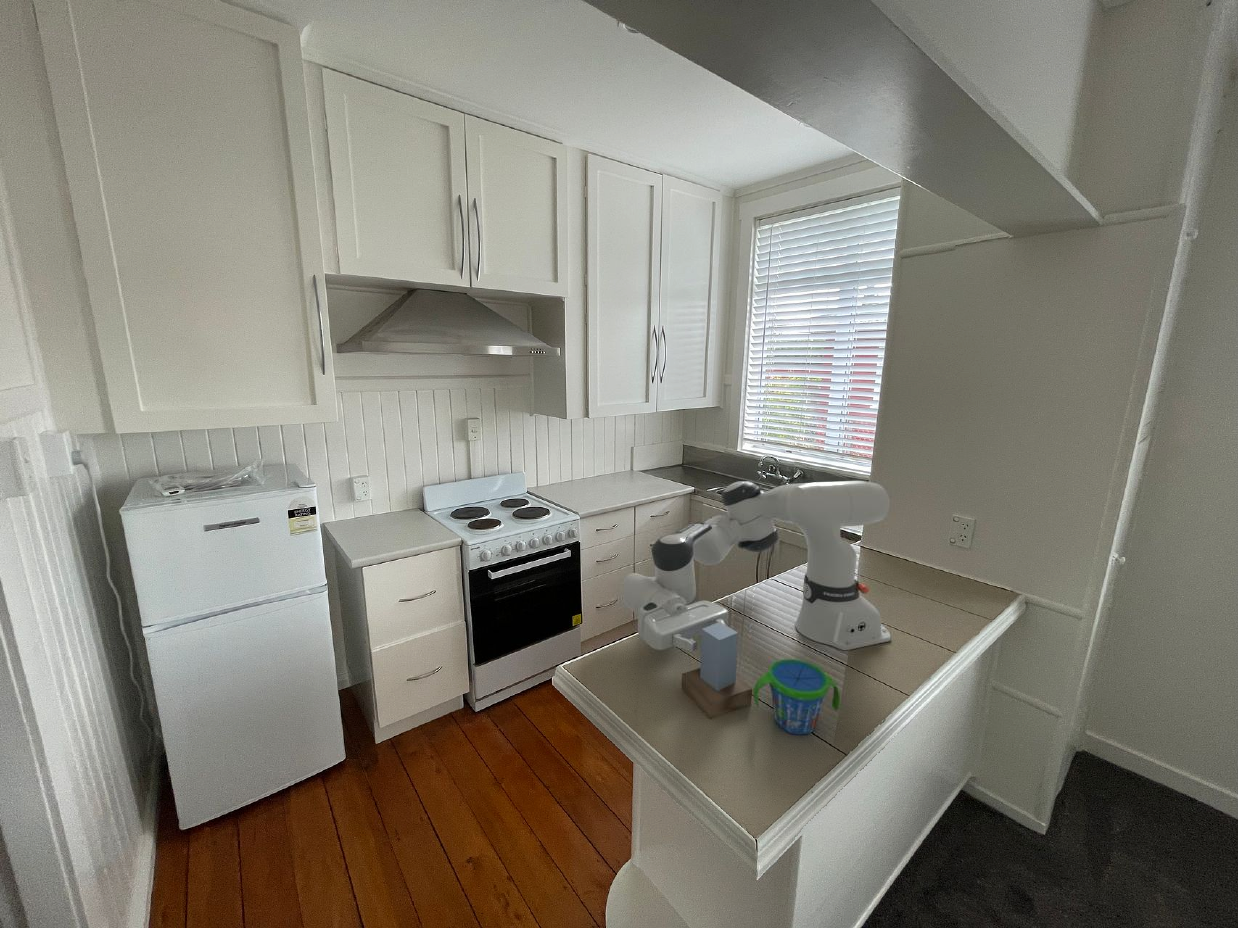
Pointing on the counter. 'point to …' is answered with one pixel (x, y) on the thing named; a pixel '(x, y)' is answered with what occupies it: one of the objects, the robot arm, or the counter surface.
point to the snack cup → (797, 694)
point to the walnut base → (716, 694)
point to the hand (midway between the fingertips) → (711, 640)
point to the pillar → (718, 655)
